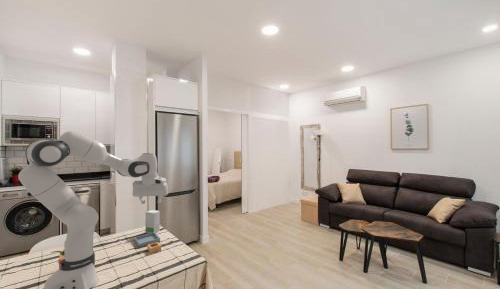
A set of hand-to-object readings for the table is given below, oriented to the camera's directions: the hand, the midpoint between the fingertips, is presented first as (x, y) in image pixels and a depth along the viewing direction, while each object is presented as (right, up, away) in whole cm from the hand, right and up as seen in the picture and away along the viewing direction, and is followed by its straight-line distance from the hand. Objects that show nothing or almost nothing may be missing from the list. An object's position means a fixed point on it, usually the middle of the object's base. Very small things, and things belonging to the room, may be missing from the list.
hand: (151, 203), depth 137 cm
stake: (-1, -31, +8) cm, 32 cm away
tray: (-11, -31, +20) cm, 39 cm away
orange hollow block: (-1, -31, +8) cm, 32 cm away
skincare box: (-15, -31, +37) cm, 50 cm away
